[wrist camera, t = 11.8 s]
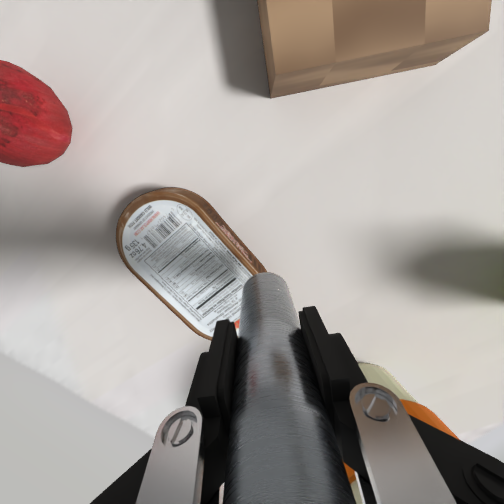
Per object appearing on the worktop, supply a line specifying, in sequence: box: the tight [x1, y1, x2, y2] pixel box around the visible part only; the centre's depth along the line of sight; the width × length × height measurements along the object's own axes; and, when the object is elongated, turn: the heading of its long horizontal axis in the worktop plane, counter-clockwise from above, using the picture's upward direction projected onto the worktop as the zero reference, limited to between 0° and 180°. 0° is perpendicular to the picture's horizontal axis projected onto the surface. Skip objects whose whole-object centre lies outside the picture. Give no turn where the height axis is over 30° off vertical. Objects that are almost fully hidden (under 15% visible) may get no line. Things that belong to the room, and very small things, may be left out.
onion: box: [0, 60, 72, 167], centre depth 14 cm, size 6×6×8 cm
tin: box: [116, 187, 267, 341], centre depth 20 cm, size 15×3×8 cm
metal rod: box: [223, 272, 356, 504], centre depth 8 cm, size 3×3×14 cm
